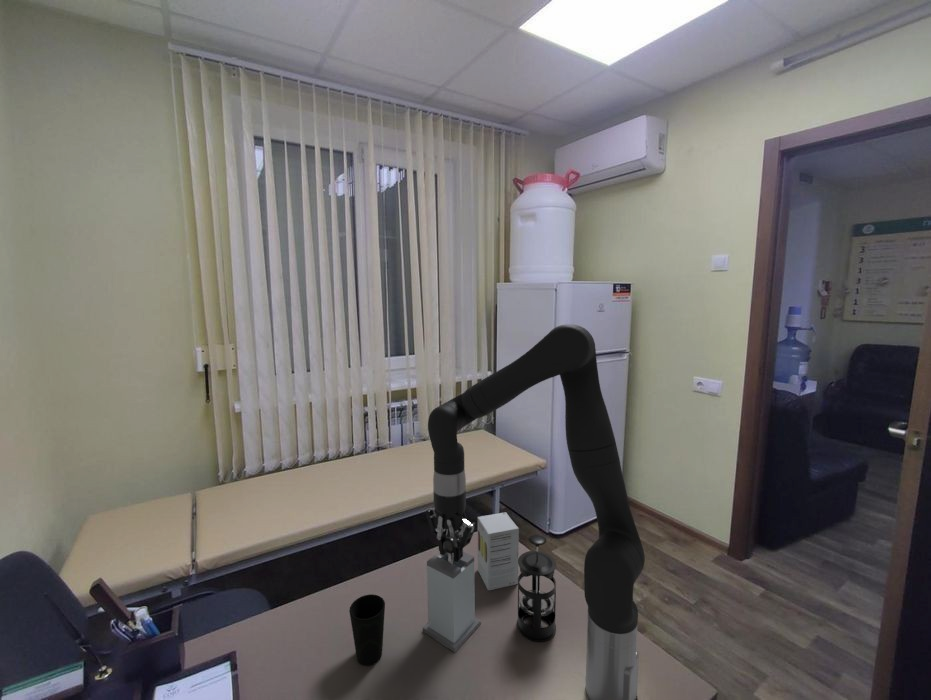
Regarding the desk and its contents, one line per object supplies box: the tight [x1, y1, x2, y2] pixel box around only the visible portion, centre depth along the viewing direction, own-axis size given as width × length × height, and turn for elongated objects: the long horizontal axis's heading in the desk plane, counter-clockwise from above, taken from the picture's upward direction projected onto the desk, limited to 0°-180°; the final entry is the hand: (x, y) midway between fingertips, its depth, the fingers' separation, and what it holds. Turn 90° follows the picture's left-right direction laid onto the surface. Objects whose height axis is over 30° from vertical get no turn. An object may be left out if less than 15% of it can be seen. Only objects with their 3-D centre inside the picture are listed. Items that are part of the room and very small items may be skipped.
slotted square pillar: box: [422, 551, 482, 653], centre depth 98 cm, size 10×10×18 cm
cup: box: [349, 593, 386, 667], centre depth 91 cm, size 8×8×12 cm
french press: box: [516, 534, 557, 643], centre depth 99 cm, size 12×9×23 cm
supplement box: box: [477, 511, 520, 591], centre depth 116 cm, size 10×9×17 cm
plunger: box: [443, 536, 454, 564], centre depth 98 cm, size 6×6×17 cm
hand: (450, 556), depth 97 cm, fingers closed on plunger, 3 cm apart
